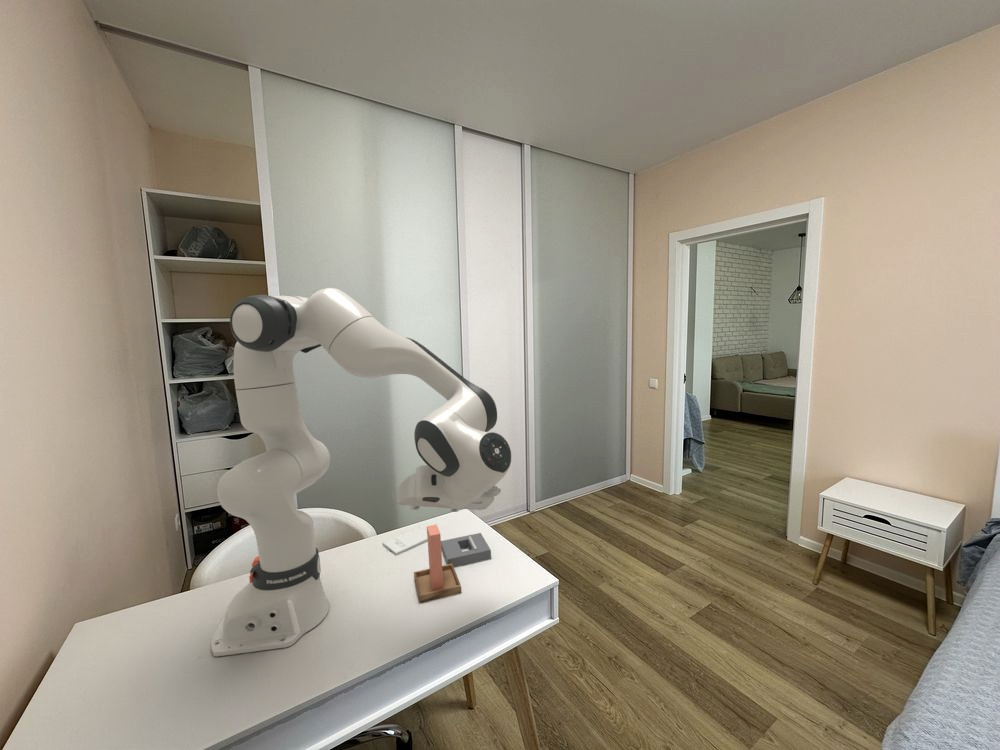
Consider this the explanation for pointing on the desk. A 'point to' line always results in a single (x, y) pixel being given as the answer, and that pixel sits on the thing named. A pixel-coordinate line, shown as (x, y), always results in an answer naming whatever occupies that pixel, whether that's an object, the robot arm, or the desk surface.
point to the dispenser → (474, 554)
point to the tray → (427, 593)
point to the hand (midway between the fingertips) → (434, 507)
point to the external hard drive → (406, 541)
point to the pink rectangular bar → (435, 557)
